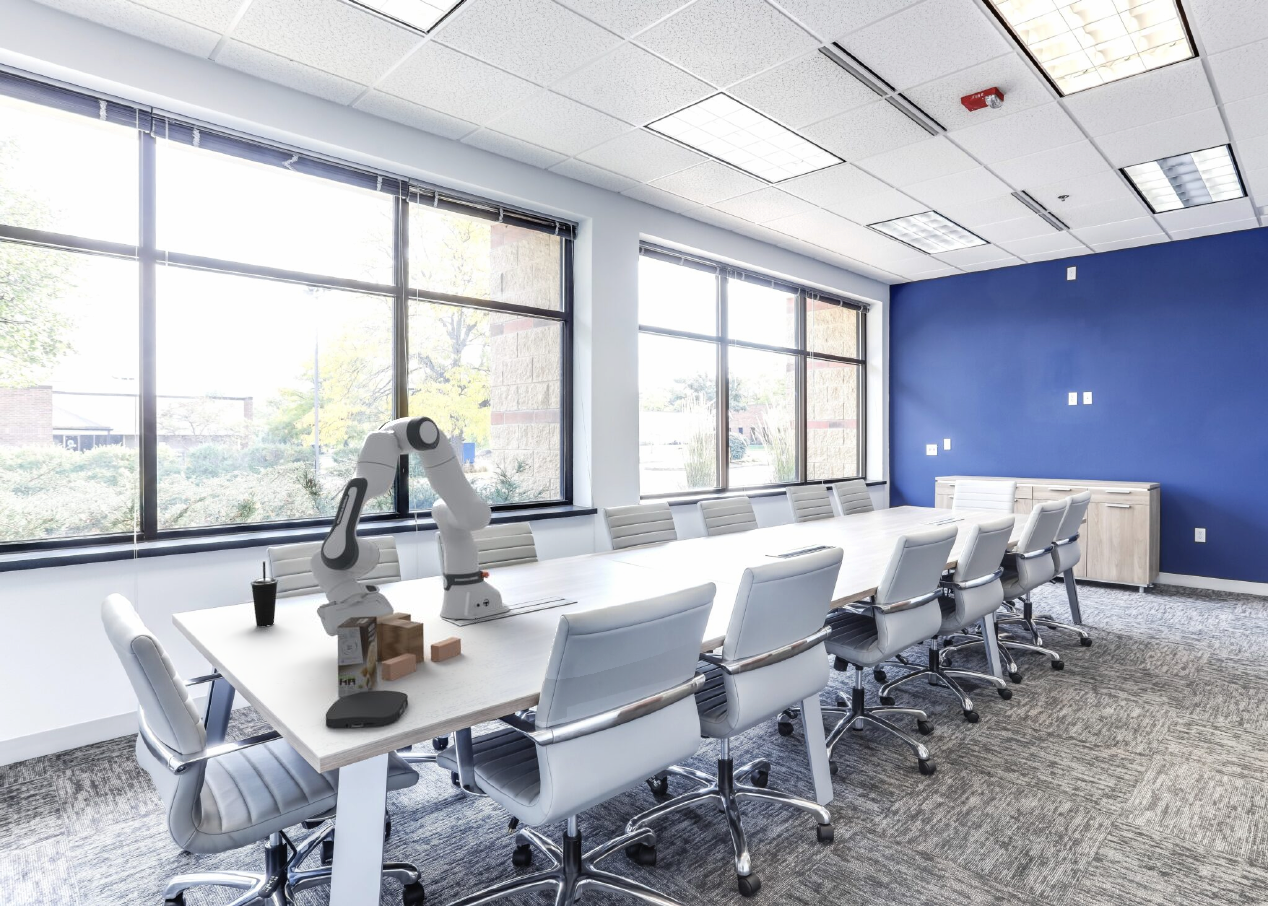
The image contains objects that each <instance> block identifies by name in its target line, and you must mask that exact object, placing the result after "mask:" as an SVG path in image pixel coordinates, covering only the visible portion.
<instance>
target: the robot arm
mask: <svg viewBox="0 0 1268 906" xmlns="http://www.w3.org/2000/svg"><path fill="white" fill-rule="evenodd" d="M360 447H361V448H360V451H359V453H358V457H357V461H356V465H355V469H354V472H353V475H352V477H351V479H350V480H349V481H348V483H347V484H346V485H345V488H344V489H343V493H342V496H341V499H340V502H339V505H338V507H337V510H336V513H335V517H334V519H333V523H332V525H331V528H330V529H329V532H328V533H327V535H326V537H325V538H324V540H323V541H322V544H321V547H320V549H319V550H317V551H316V552H315V553H314V554H313V555H312V556H311V559H310V561H309V566H310V570H311V573H312V576H313V578H314V579H315V581H316V583H317V585H318V586H319V588H320V589H321V590H323V592H324V593H325V598H326V599H327V601H328V603H323V604H320V605H319V606H318V607H317V609H316V613H317V616H318V617H319V618H320V621H321V624H322V626H323V629H324V631H325V633H326V634H327V635H328V636H330V637H335V636H338V628H337V627H338V626H339V625H341V624H342V623H344V622H345V621H346V620H348V619H349V618H351V617H377V618H380V617H383V616H387V615H390V614H394V613H395V609H394V607H393V606H392V604H391V603H390V601H389V600H388V598H387V597H386V596H385V595H384V594H382V593H381V592H380V590H381V589H380V587H379V586H378V585H376V584H365V583H359V581H358V580H357V579H360V578H361V577H363V576H365V575H366V574H368V573H370V572H372V571H373V570H374V569H375V568H376V567H377V565H378V563H379V561H380V558H381V557H380V556H381V553H380V549H379V547H378V546H377V544H376V543H374V542H372V541H370V540H367V539H365V538H361V537H358V536H357V529H358V525H359V523H360V520H361V516H362V513H363V509H364V507H365V505H366V504H367V503H368V501H370V500H372V499H375V498H376V499H377V498H380V497H382V496H384V495H386V494H387V493H388V492H389V491H390V490H391V488H392V487H393V484H394V481H395V477H396V472H397V467H398V461H399V457H400V456H401V455H411V454H413V453H415V454H417V456H418V459H419V461H420V463H421V467H422V469H423V471H424V474H425V476H426V478H427V480H428V483H429V486H430V487H431V489H432V490H433V492H435V493H436V494H437V495H438V496H439V498H438V499H437V500H436V501H435V502H434V503H433V505H432V506H431V517H432V519H433V521H434V522H435V523H436V526H437V528H438V530H439V533H440V534H439V535H440V538H441V541H442V545H443V546H442V547H443V552H444V553H443V557H444V558H443V559H444V571H443V573H442V576H443V577H442V586H443V599H442V605H441V610H440V614H439V616H440V617H442V618H447V619H454V620H455V619H456V620H457V619H458V620H459V619H460V620H462V619H463V620H464V619H465V620H476V619H479V618H480V619H481V618H484V617H489V616H493V615H496V614H502V613H506V612H509V611H510V606H509V605H507V604H506V603H503V598H502V595H501V593H500V591H499V590H498V589H497V588H495V587H494V586H493V585H491V584H490V583H488V582H487V581H486V580H485V579H488V578H489V577H490V572H488V571H482V570H481V569H480V568H479V567H480V565H479V563H480V562H479V559H480V557H479V546H478V544H477V543H476V542H475V540H474V537H473V535H472V532H476V531H480V530H484V529H485V528H487V526H488V525H490V523H491V519H492V514H493V513H492V509H491V507H490V505H489V504H488V503H487V502H486V501H485V500H484V499H482V498H481V497H480V495H479V494H478V493H477V492H476V490H475V489H474V488H473V486H472V485H471V483H470V481H468V479H467V477H466V475H465V474H464V471H463V469H462V466H461V464H460V462H459V459H458V457H457V454H456V452H455V450H454V448H453V445H452V444H451V442H450V440H449V438H448V437H447V435H446V434H445V432H444V431H443V430H442V429H441V428H439V427H438V425H437V423H436V422H435V421H434V420H433V419H431V418H430V417H427V416H423V415H417V416H409V417H407V416H406V417H401V418H399V419H395V420H391V421H386V422H384V423H382V424H380V425H379V426H378V427H377V428H376V429H375V430H374V431H371V432H368V434H367V435H366V436H365V438H364V440H363V443H362V446H360ZM475 618H476V619H475Z"/></svg>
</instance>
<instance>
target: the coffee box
mask: <svg viewBox="0 0 1268 906" xmlns="http://www.w3.org/2000/svg"><path fill="white" fill-rule="evenodd" d="M337 628H338V635H337V675H338V676H337V690H338V691H337V694H338V695H337V696H338V698H342V697H345V696H348V695H352V694H355V693H360V692H366V691H372V689H373V688H374V687H375V686H376V684H377V683H378V662H377V617H351V618H349V619H348V620H346V621H345V622H344V623H342V624H341V625H339V626H338V627H337Z"/></svg>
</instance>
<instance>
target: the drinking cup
mask: <svg viewBox="0 0 1268 906" xmlns="http://www.w3.org/2000/svg"><path fill="white" fill-rule="evenodd" d="M278 583H279V580H278V579H276V578H272V577H267V576H266V561H262V577H261V578H258V579H256V580H253V581H251V582H250V585H251V590H252V591H251V592H252V597H253V598H252V599H253V606H254V616H255V622H256V623H255V624H256V627H258V626H265V627H268V626H267V625H271V626H273V625H274V624H275V616H276V615H275V612H276V602H277V589H278ZM273 623H274V624H273ZM272 624H273V625H272Z"/></svg>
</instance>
